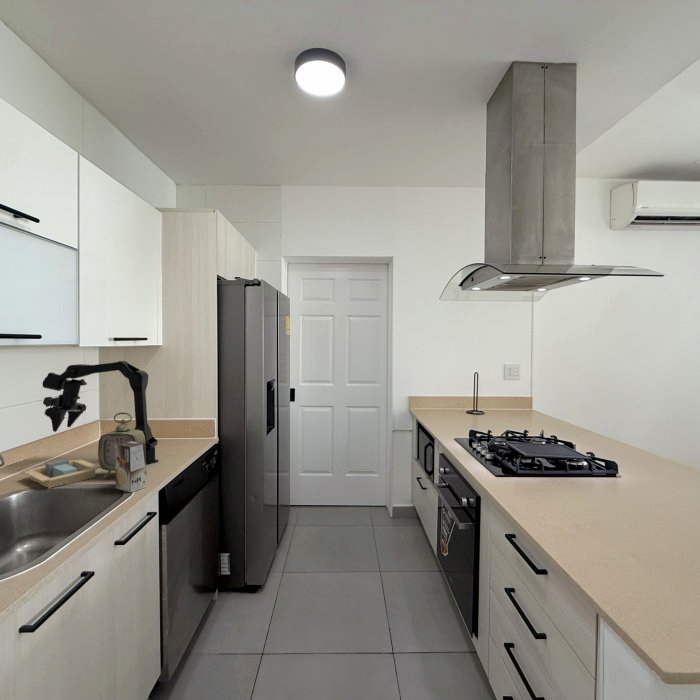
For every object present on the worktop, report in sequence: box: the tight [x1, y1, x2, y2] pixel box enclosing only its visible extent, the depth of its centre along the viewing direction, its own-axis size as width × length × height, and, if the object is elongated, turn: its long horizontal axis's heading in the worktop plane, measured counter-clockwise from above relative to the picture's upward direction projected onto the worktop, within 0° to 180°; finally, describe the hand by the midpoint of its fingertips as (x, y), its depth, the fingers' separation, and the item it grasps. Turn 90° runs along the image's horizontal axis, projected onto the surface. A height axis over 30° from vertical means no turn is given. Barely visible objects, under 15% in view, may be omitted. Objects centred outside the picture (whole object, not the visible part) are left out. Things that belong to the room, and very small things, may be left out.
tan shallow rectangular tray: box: [23, 459, 101, 490], centre depth 155 cm, size 21×19×4 cm
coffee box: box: [115, 441, 147, 493], centre depth 145 cm, size 9×6×16 cm
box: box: [45, 458, 78, 478], centre depth 155 cm, size 14×6×6 cm, turn 56°
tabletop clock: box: [97, 412, 146, 479], centre depth 157 cm, size 14×9×25 cm, turn 92°
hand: (61, 429), depth 171 cm, fingers open, 9 cm apart
